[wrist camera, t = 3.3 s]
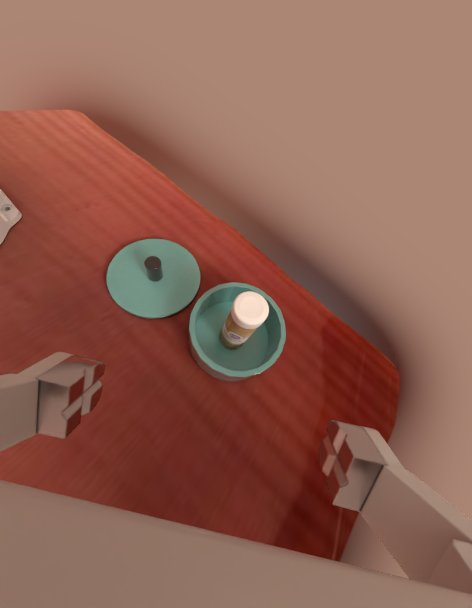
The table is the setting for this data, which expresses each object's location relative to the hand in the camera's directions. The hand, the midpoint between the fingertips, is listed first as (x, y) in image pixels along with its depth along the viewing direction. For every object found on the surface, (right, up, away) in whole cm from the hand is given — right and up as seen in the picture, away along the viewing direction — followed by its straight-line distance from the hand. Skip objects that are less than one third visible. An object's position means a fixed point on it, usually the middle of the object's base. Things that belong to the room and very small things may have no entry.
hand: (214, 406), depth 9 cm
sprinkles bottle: (0, -2, +33) cm, 33 cm away
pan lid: (-13, +8, +34) cm, 38 cm away
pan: (0, -2, +33) cm, 33 cm away
